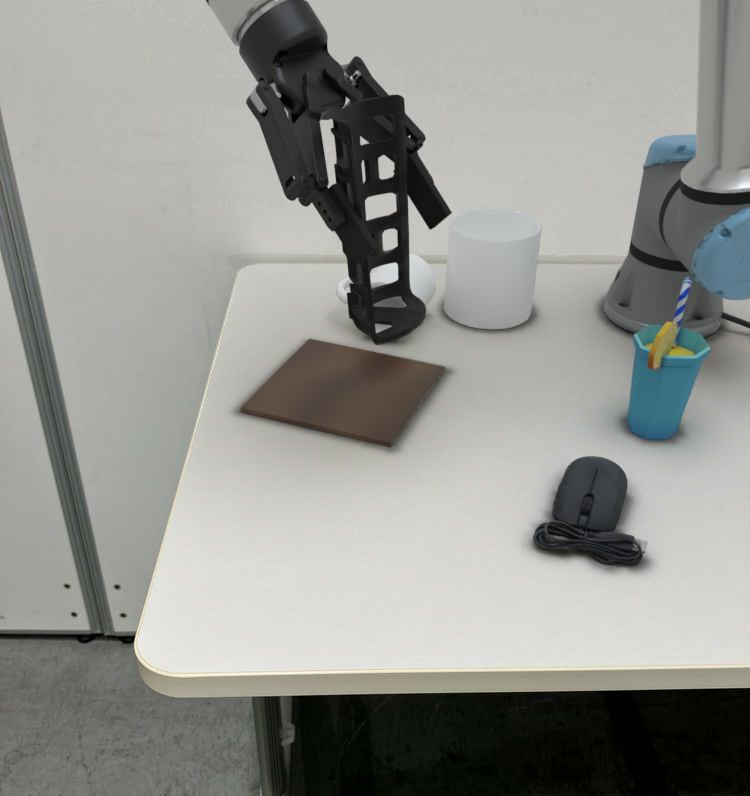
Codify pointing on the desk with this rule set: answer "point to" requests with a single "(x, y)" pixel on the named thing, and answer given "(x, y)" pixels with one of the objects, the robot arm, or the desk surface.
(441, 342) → the desk surface
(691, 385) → the cup
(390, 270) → the mug
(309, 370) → the board
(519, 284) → the cup
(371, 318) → the holder
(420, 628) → the desk surface
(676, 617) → the desk surface
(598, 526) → the computer mouse
